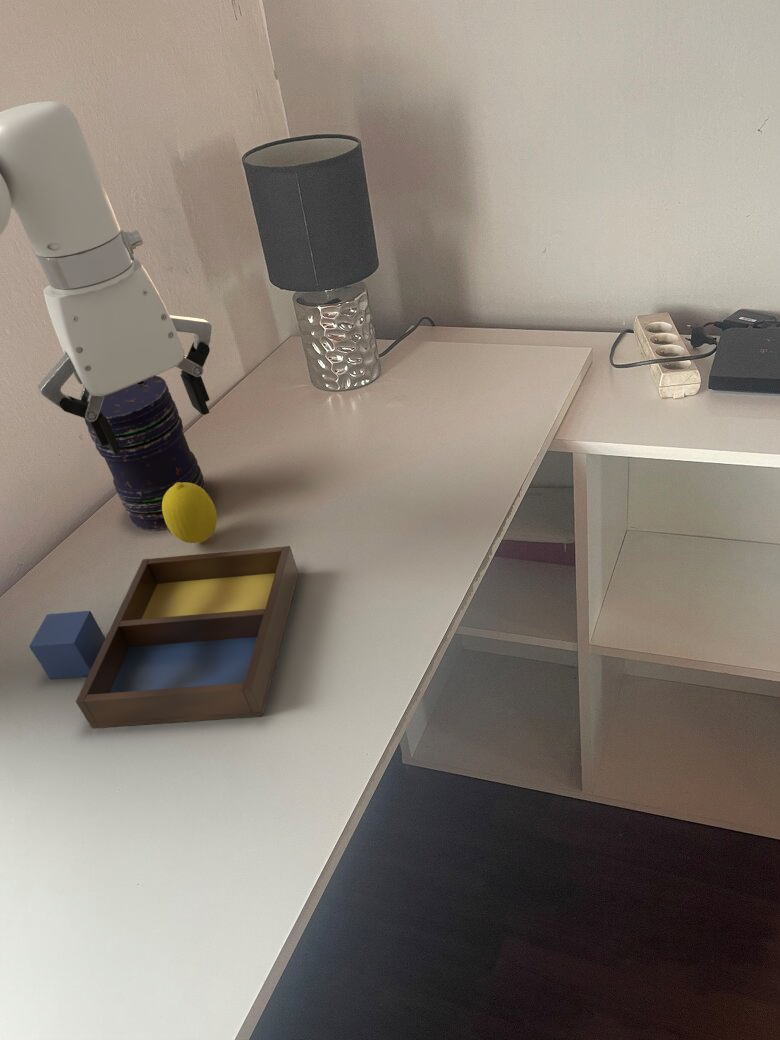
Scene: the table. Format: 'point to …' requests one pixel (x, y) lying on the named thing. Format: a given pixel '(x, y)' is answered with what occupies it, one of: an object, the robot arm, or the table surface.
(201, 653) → the sorting tray
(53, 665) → the blue block
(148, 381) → the storage jar
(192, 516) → the lemon
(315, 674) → the table surface
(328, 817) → the table surface
